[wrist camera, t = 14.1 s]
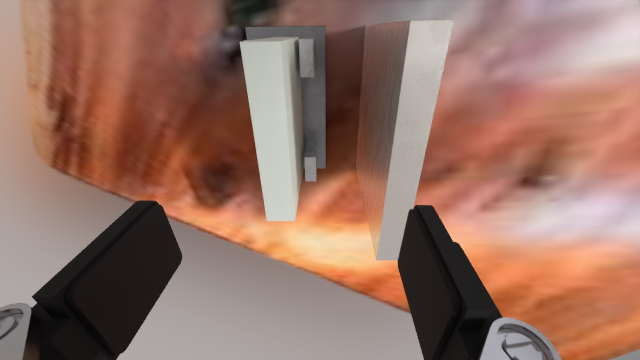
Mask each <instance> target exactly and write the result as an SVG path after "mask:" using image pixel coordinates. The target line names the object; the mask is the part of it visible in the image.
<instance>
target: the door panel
mask: <svg viewBox="0 0 640 360" xmlns="http://www.w3.org/2000/svg"><path fill="white" fill-rule="evenodd" d="M240 47H241V54H242V60H243V67H244V73H245V80H246V87H247V93H248V100H249V106H250V113H251V120H252V126H253V133H254V139H255V146H256V152H257V159H258V166H259V172H260V179H261V185H262V192H263V199H264V205H265V212H266V218H267V221H295V218H296V211H297V205H298V199H299V193H300V187H301V180H302V174H303V168H304V162H305V158H304V137H303V116H302V95H301V75H300V55H299V37H271V38H264V39H257V40H250V41H243V42H240Z"/></svg>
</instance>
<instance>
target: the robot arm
mask: <svg viewBox="0 0 640 360" xmlns="http://www.w3.org/2000/svg"><path fill="white" fill-rule="evenodd" d="M181 260H182V253H181V251H180V248H179V246H178V243H177V241H176V238H175V236H174V233H173V231H172V229H171V226H170V224H169V221H168V219H167V216H166V214H165V211H164V209H163V207H162V206H161V205H159V204H158V202H156V201H137V202H135V203H134V204H133V205H132V206H131V207H130V208H129V209H128V210H127V211H125V212H124V213H123V214H122V215H121V216H120V217H119V218H118V219H117V220H116V221H115V222H113V223H112V224H111V225H110V226H109V227H108V228H107V229H106V230H105V231H104V232H102V233H101V234H100V235H99V236H98V237H97V238H96V239H95V240H94V241H92V242H91V243H90V244H89V245H88V246H87V247H86V248H85V249H84V250H83V251H81V253H79V254H78V255H77V256H76V257H75V258H74V259H73V260H72V261H70V262H69V263H68V264H67V265H66V266H65V267H64V268H63V269H62V270H61V271H60V272H58V273H57V274H56V275H55V276H54V277H53V278H52V279H51V280H50V281H48V282H47V283H46V284H45V285H44V286H43V287H42V288H41V289H40V290H39V291H38V292H36V293H35V294H34V295H33V296H32V297H33V299H34V300H35V301H36V302H37V304H36V305H35V306H34V307H33V308H31V307H30V306H29V305H28V304H24V303H16V304H10V305H7V306H4V307H1V308H0V360H116V359H117V358H118V356H119V354H121V353H123V352H124V351H125V350H126V349H127V347H128V346H129V344H130V343H131V341H132V339H133V338H134V336H135V335H136V333H137V332H138V330H139V328H140V327H141V325H142V324H143V322H144V320H145V319H146V317H147V315H148V314H149V312H150V311H151V309H152V308H153V306H154V304H155V303H156V301H157V300H158V298H159V297H160V295H161V293H162V292H163V290H164V289H165V287H166V285H167V284H168V282H169V281H170V279H171V277H172V275H173V274H174V273H175V271H176V269H177V268H178V266H179V265H180V263H181ZM398 268H399V272H400V276H401V279H402V283H403V286H404V290H405V293H406V297H407V300H408V304H409V308H410V311H411V315H412V318H413V322H414V325H415V329H416V332H417V336H418V339H419V343H420V346H421V350H422V354H423V357H424V360H561V358H560V356H559V353H558V351H557V350H556V348H555V347H554V346H553V345H552V343H551V342H550V341H549V340H548V339H547V338H546V337H545V336H544V335H543V334H542V333H541V332H540V331H538V330H537V329H535V328H534V327H532V326H531V325H529V324H527V323H525V322H522V321H520V320H518V319H513V318H503V317H502V315H501V314H500V312H499V310H498V309H497V307H496V305H495V304H494V302H493V300H492V298H491V297H490V295H489V293H488V292H487V290H486V288H485V287H484V285H483V283H482V282H481V280H480V278H479V277H478V275H477V273H476V271H475V270H474V268H473V266H472V265H471V263H470V261H469V260H468V258H467V256H466V255H465V253H464V251H463V249H462V248H461V246H460V245H459V244H458V243H456V242H453V241H452V239H451V237H450V235H449V234H448V232H447V230H446V228H445V227H444V225H443V223H442V221H441V219H440V218H439V216H438V214H437V212H436V211H435V209H434V207H433V206H431V205H416V206H415V207H414V209H410V210H409V212H408V216H407V221H406V225H405V230H404V234H403V239H402V243H401V248H400V252H399V257H398Z"/></svg>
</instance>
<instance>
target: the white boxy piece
mask: <svg viewBox="0 0 640 360" xmlns="http://www.w3.org/2000/svg"><path fill="white" fill-rule="evenodd" d="M453 22H454V20H422V21H403V22H393V23H384V24H374V25H365V34H364V49H363V64H362V79H361V94H360V109H359V124H358V140H357V155H356V170H357V174H358V179H359V183H360V188H361V193H362V197H363V202H364V206H365V211H366V215H367V220H368V224H369V229H370V234H371V238H372V243H373V247H374V252H375V256H376V260H398V257H399V252H400V248H401V243H402V239H403V234H404V230H405V225H406V221H407V216H408V212H409V210H410V209H413V207H414V202H415V197H416V193H417V188H418V184H419V179H420V174H421V170H422V165H423V161H424V156H425V151H426V147H427V142H428V137H429V133H430V128H431V124H432V119H433V114H434V110H435V105H436V100H437V96H438V91H439V87H440V82H441V77H442V73H443V68H444V63H445V59H446V54H447V50H448V45H449V40H450V36H451V31H452V26H453ZM245 28H246V35H247V40H244V41H250V40H257V39H264V38H271V37H299V55H300V75H301V95H302V116H303V137H304V158H305V162H304V168H305V179H306V181H316V178H317V168H326V74H325V26H291V27H245Z"/></svg>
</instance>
